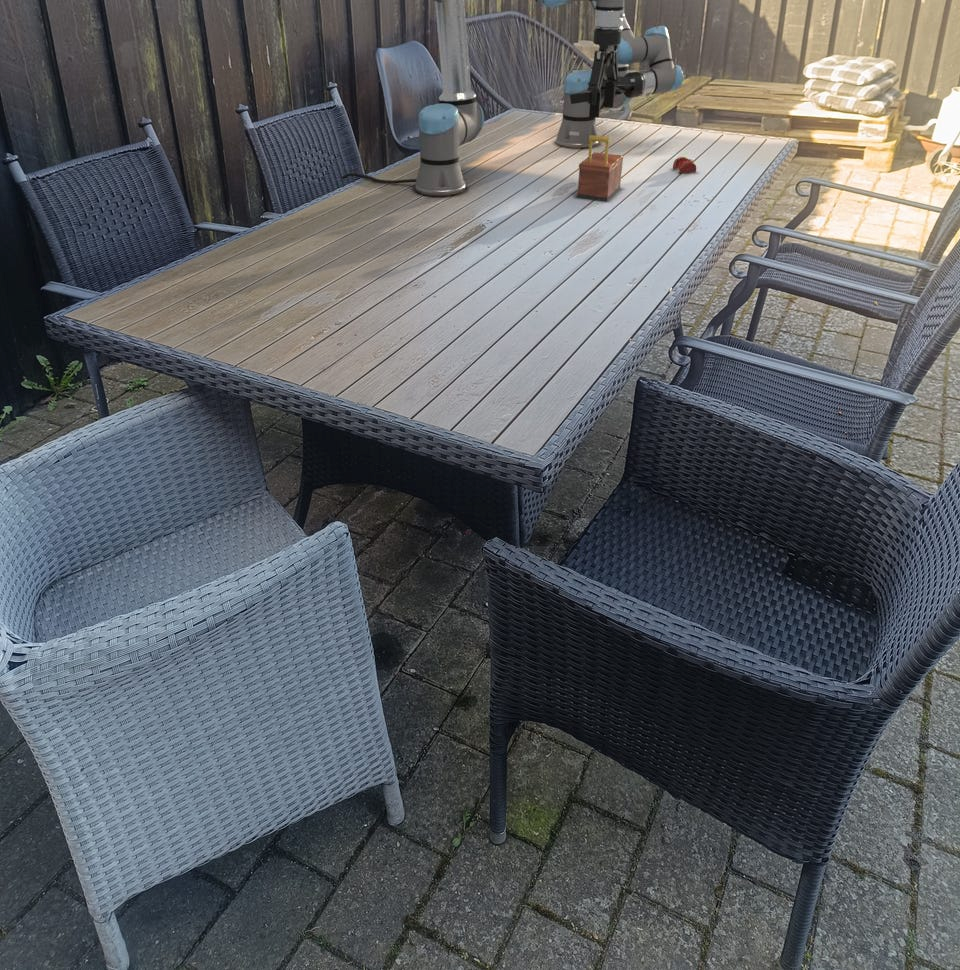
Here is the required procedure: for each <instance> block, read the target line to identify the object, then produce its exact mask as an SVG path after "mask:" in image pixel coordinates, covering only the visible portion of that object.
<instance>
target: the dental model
mask: <svg viewBox="0 0 960 970" xmlns="http://www.w3.org/2000/svg"><path fill="white" fill-rule="evenodd" d="M672 170H678V173H679V174H690V173H691V174H692V173H696V172H697V165H696V163H695V161H694V160H693V159H691V158H688V157H686V156H679V157H677V158H676V159H674V161H673V164H672Z"/></svg>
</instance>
